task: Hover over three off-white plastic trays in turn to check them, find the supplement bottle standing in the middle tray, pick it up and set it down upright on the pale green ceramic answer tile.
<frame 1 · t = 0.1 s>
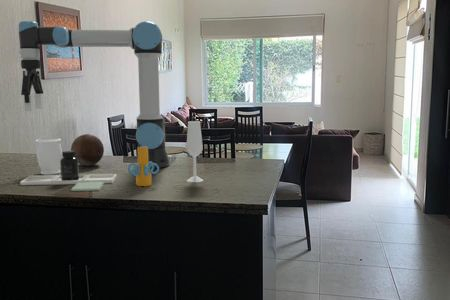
hand: (33, 109, 198), 28 cm above the table, tool pointing down, fingers open, 13 cm apart
tray 1: (39, 181, 186), on the table
answer tile: (88, 187, 176), on the table
champagne flute: (194, 180, 188), on the table
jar: (50, 173, 203), on the table
orange and blue toy: (144, 185, 180), on the table
wooden sphere: (88, 166, 220), on the table
supplement bottle: (70, 181, 187), resting on tray middle
tray middle: (70, 181, 187), on the table
tray 2: (100, 180, 188), on the table
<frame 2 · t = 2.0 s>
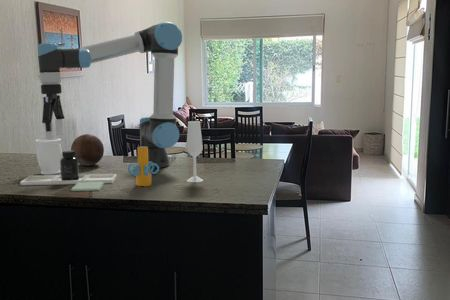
hand: (55, 137, 184), 18 cm above the table, tool pointing down, fingers open, 13 cm apart
nothing on the table moved.
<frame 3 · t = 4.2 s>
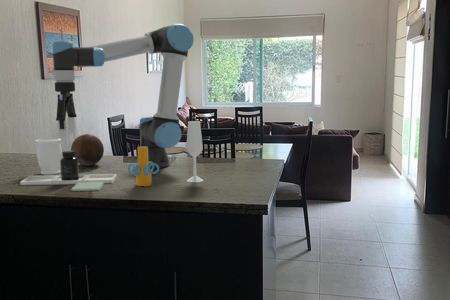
hand: (67, 135, 184), 19 cm above the table, tool pointing down, fingers open, 13 cm apart
nothing on the table moved.
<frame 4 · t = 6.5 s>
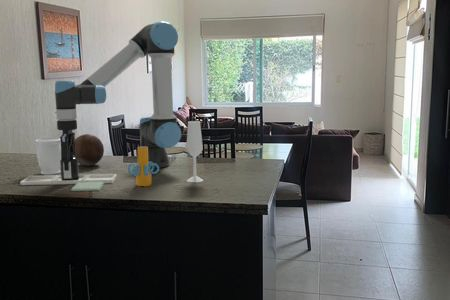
hand: (70, 176, 187), 2 cm above the table, tool pointing down, fingers closed on supplement bottle, 7 cm apart
supplement bottle: (70, 181, 187), resting on tray middle, touching gripper
everything else where it was.
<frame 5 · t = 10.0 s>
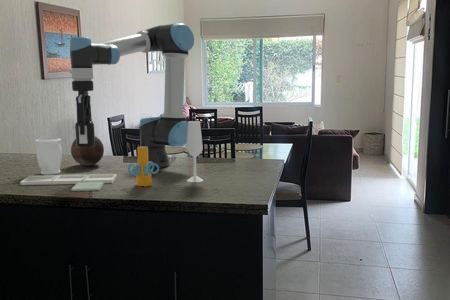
hand: (85, 141, 174), 18 cm above the table, tool pointing down, fingers closed on supplement bottle, 7 cm apart
supplement bottle: (85, 147, 174), point 16 cm above the table, touching gripper
everything else where it was.
when the fingers open (4 cm above the table, at t = 13.1 s): supplement bottle drops 1 cm, resting on answer tile.
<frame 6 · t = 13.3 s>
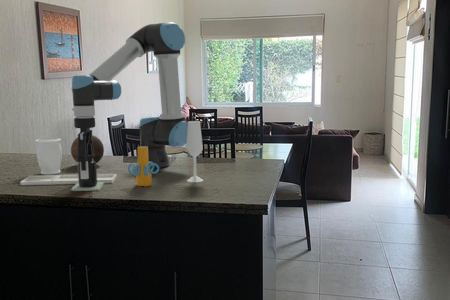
hand: (87, 175, 176), 5 cm above the table, tool pointing down, fingers open, 9 cm apart
supplement bottle: (88, 185, 176), point 1 cm above the table, touching answer tile
everything else where it was.
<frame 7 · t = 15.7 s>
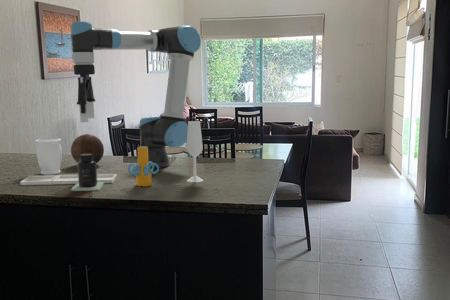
hand: (87, 120, 178), 25 cm above the table, tool pointing down, fingers open, 13 cm apart
nothing on the table moved.
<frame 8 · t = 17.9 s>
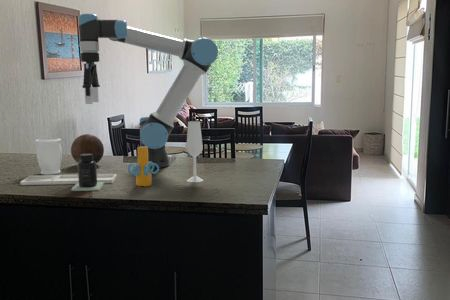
hand: (92, 103, 197), 31 cm above the table, tool pointing down, fingers open, 13 cm apart
nothing on the table moved.
at the end: supplement bottle inside the target area on the answer tile (0.1 cm from its centre), point 0.6 cm above the answer tile's base; supplement bottle tilted 0°; the gripper is holding nothing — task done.
